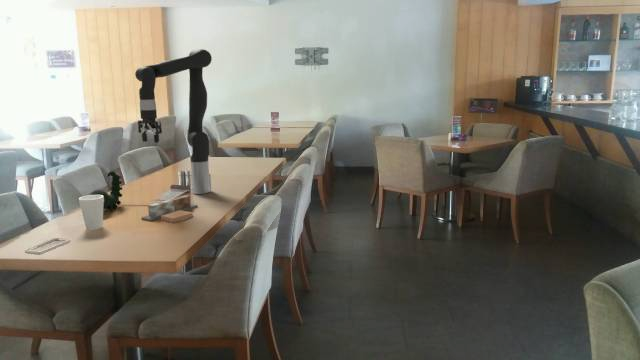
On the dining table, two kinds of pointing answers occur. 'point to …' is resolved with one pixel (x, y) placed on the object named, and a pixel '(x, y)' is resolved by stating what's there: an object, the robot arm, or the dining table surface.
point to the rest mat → (167, 213)
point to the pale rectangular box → (169, 206)
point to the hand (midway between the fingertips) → (150, 142)
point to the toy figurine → (111, 193)
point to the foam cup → (92, 211)
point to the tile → (176, 216)
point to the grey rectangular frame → (47, 248)
